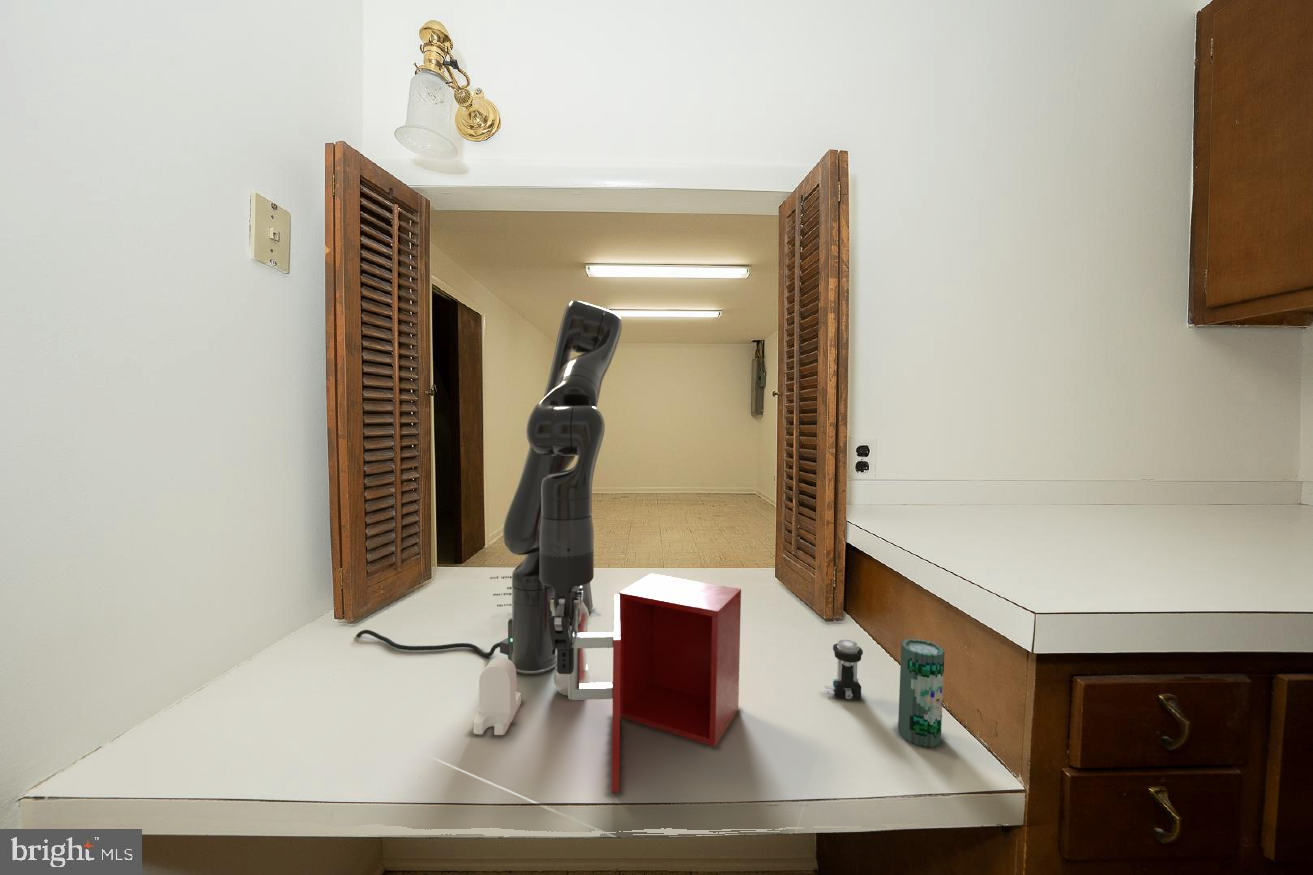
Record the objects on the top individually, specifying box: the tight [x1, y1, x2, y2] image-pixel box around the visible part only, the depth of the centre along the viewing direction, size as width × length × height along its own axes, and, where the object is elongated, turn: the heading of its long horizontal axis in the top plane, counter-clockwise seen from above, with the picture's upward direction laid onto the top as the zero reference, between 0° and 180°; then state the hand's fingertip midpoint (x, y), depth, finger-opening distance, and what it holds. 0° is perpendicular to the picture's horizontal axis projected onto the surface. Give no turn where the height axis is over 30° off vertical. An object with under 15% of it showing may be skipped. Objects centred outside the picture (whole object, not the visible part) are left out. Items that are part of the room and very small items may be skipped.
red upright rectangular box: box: [618, 573, 742, 747], centre depth 93 cm, size 12×18×22 cm, turn 63°
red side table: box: [567, 594, 621, 793], centre depth 82 cm, size 7×18×22 cm, turn 4°
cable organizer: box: [473, 656, 522, 736], centre depth 91 cm, size 5×10×10 cm, turn 178°
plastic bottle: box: [553, 586, 590, 697], centre depth 100 cm, size 6×7×20 cm
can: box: [897, 638, 946, 748], centre depth 88 cm, size 6×6×15 cm
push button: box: [824, 639, 864, 700], centre depth 100 cm, size 7×5×10 cm
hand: (567, 668), depth 75 cm, fingers closed on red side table, 2 cm apart
